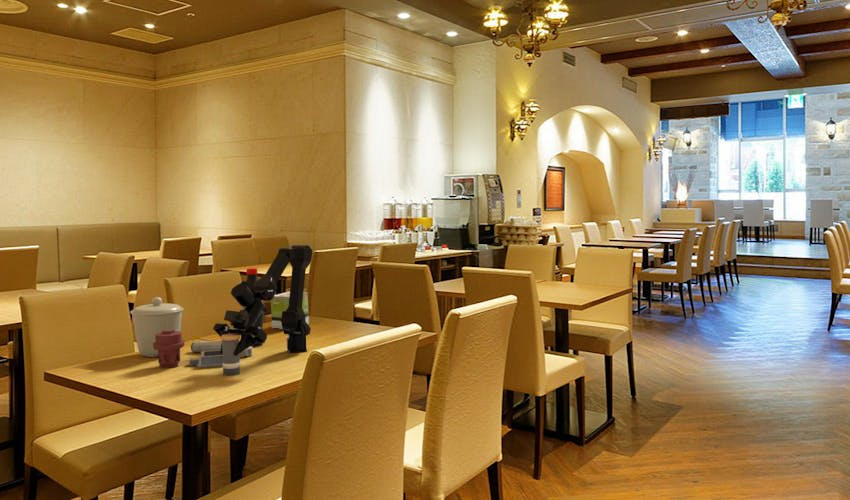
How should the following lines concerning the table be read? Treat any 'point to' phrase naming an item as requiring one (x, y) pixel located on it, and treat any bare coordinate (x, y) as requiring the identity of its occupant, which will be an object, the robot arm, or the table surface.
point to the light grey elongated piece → (215, 347)
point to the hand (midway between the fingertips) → (227, 354)
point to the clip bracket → (208, 359)
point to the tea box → (281, 304)
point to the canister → (154, 323)
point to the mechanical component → (168, 347)
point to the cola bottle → (251, 280)
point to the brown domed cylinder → (230, 354)
